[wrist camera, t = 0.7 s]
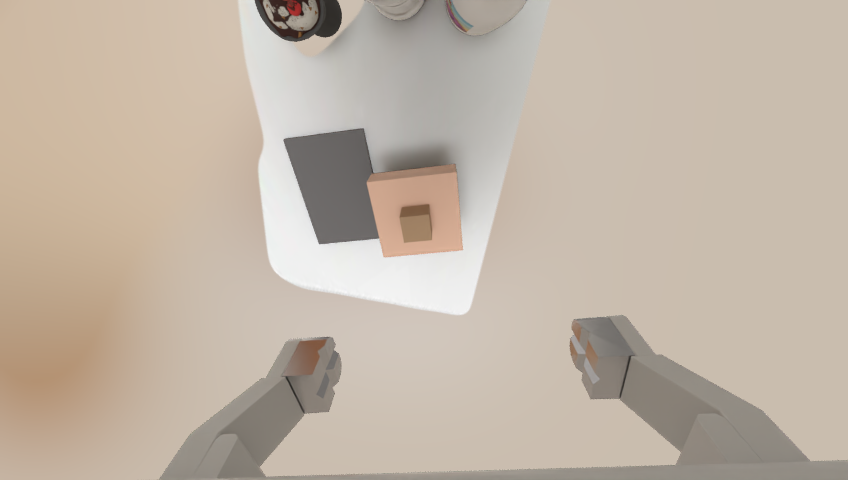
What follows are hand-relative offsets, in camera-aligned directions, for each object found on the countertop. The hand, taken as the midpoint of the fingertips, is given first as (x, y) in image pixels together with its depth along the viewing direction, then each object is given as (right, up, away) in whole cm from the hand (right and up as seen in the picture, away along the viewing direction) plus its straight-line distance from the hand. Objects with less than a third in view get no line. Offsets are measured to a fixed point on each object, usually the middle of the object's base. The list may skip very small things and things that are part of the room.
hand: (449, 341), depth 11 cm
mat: (-14, +11, +40) cm, 44 cm away
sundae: (-13, +32, +28) cm, 45 cm away
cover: (-2, +7, +31) cm, 31 cm away
